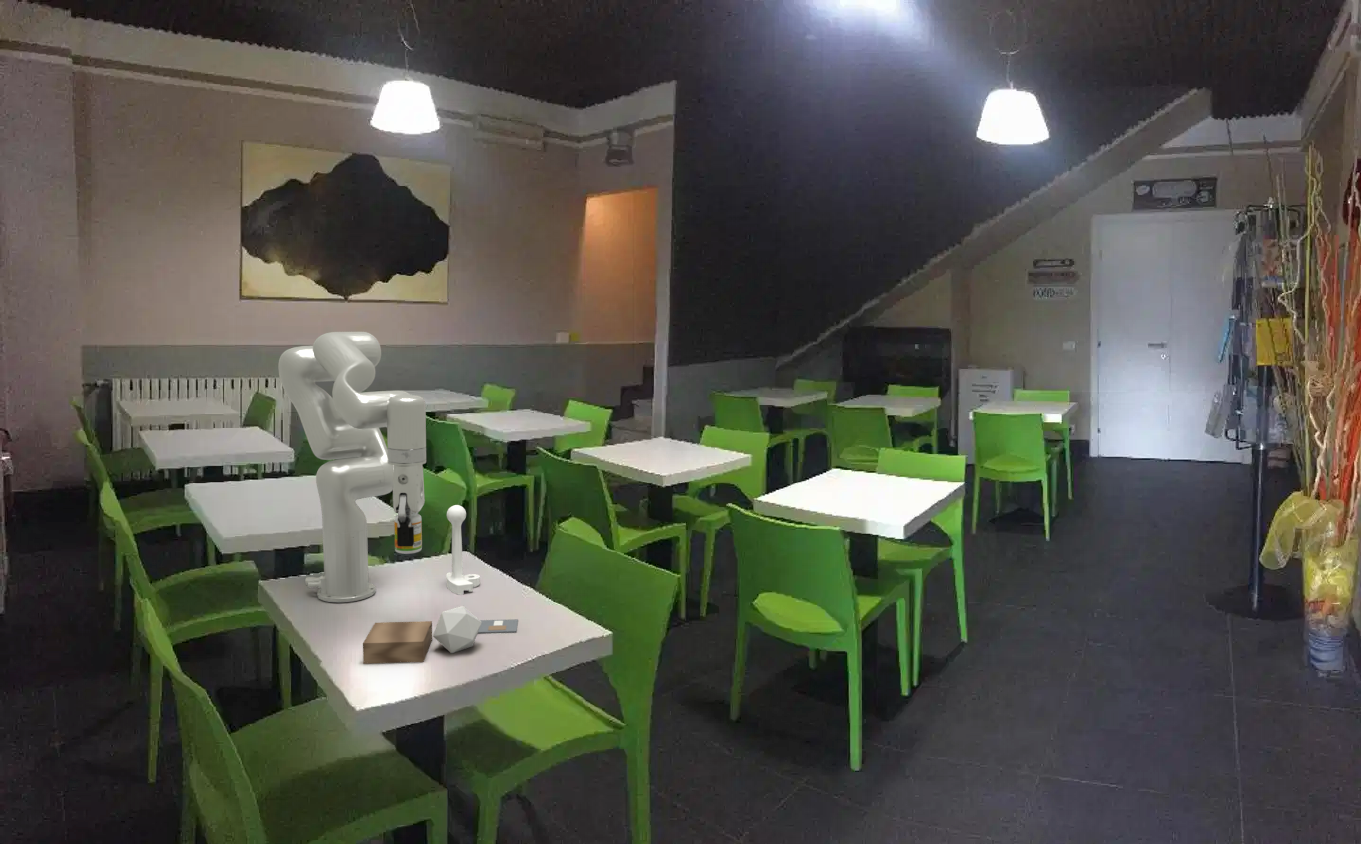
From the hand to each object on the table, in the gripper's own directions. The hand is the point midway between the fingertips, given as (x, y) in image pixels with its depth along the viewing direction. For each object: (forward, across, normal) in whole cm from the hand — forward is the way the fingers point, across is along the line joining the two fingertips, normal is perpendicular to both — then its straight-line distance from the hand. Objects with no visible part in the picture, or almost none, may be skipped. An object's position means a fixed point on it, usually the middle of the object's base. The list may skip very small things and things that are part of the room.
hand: (408, 540), depth 186 cm
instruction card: (+18, -3, -18) cm, 26 cm away
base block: (+18, -15, 0) cm, 23 cm away
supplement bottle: (+2, 0, 0) cm, 2 cm away
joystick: (+19, +25, -8) cm, 33 cm away
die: (+18, -14, -12) cm, 25 cm away
